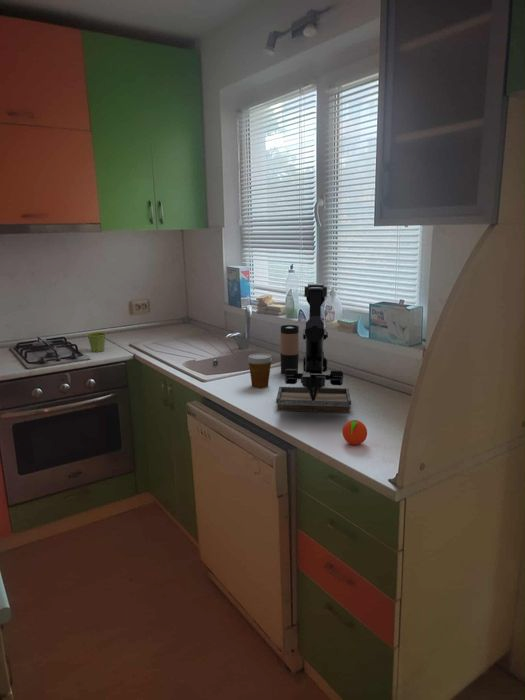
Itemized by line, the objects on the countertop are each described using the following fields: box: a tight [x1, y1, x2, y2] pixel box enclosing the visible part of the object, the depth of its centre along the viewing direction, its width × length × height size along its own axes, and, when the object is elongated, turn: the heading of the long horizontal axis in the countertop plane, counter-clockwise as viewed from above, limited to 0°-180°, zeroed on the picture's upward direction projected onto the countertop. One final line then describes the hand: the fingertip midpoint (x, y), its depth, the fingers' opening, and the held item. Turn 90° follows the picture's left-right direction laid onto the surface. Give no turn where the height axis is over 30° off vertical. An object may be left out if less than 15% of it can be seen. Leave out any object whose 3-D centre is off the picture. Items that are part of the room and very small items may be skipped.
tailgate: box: [278, 399, 349, 407], centre depth 166 cm, size 2×22×12 cm
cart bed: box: [275, 386, 352, 413], centre depth 179 cm, size 14×25×4 cm, turn 84°
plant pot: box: [86, 331, 107, 353], centre depth 260 cm, size 9×9×9 cm
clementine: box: [341, 419, 368, 446], centre depth 145 cm, size 8×7×7 cm
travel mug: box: [279, 324, 300, 375], centre depth 217 cm, size 8×8×20 cm
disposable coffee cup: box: [247, 353, 273, 389], centre depth 200 cm, size 10×10×12 cm
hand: (313, 400), depth 163 cm, fingers closed
